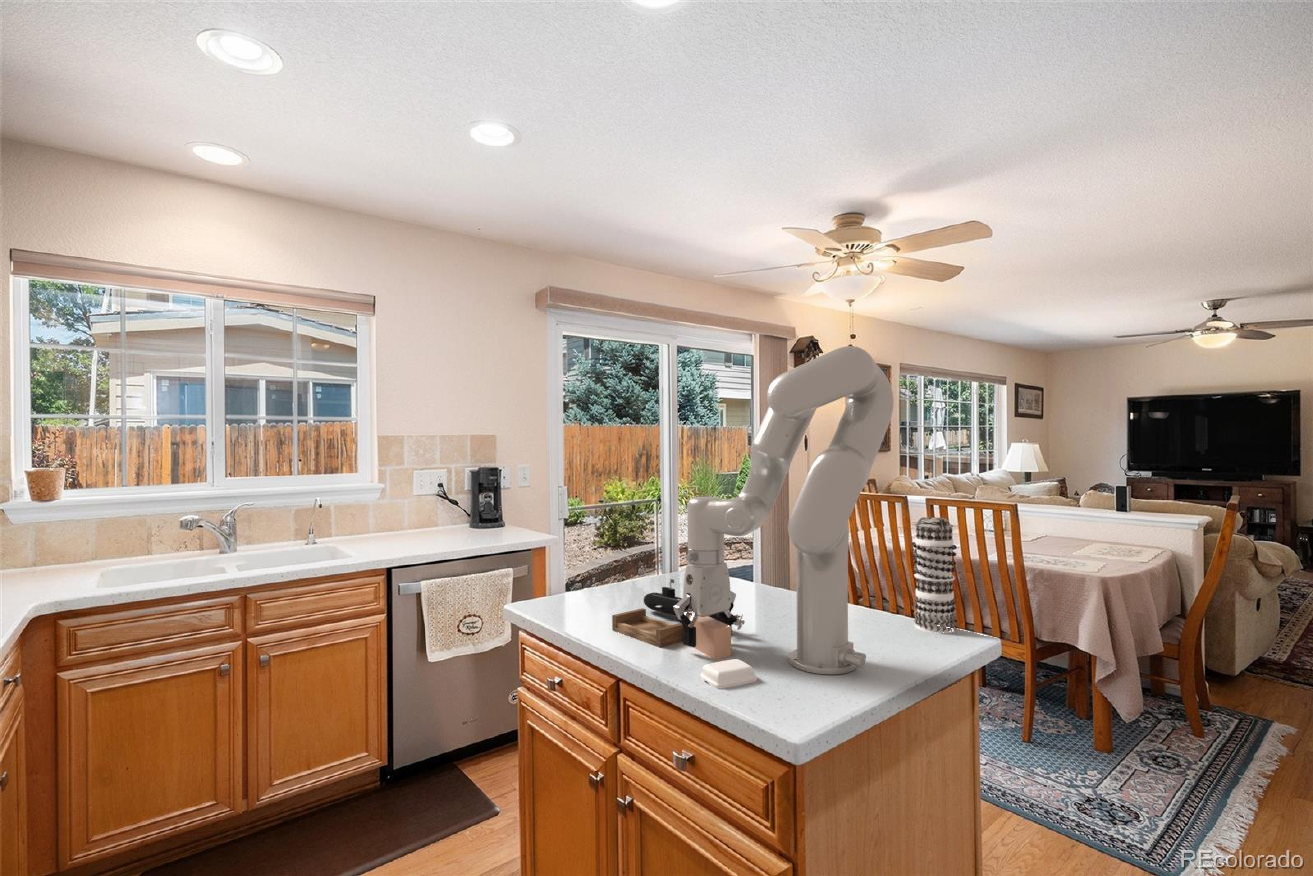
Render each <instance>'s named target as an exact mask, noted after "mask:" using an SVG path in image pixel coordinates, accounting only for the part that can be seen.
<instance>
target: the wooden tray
mask: <svg viewBox="0 0 1313 876" xmlns="http://www.w3.org/2000/svg"><path fill="white" fill-rule="evenodd" d="M611 618H612V621H611V622H612V623H611V625H612V628H611V629H612V630H613V632H615V633H618V632H619V633H618V634H620V633H621V634H622V635H623V634H624V636H627V637H629V636H630V637H629V638H632V639H634V638H635V640H637V641H640V642H643V641H644V643H646V644H649V645H652V646H655V647H657V646H658V648H663V647H666V646H670V645H673V644H676V643H680V642H683V625H681V624H680V622H678V623H674V624H673V623H669V622H666V621H663V620H660V619H657V618H654V617H649V616H647V609H646V608H643V607H642V608H638V609H634V610H629V611H626V612H620V613H616V614H613V615H612V616H611Z"/></svg>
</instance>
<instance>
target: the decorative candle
mask: <svg viewBox="0 0 1313 876" xmlns="http://www.w3.org/2000/svg"><path fill="white" fill-rule="evenodd" d="M913 525H914V526H915V538H914V541H913V542H911V545H912V547H913V548H914V549H913V551H912V552H911V553H912V555H913V556H914V557H913V558H912V561H913V563H914V567H913V568H912V569H913V570H914V573H913V576H914V578H915V579H916V582H915V583H916V588H915V596H914V597H913V598H914V601H915V602H916V603H914V605H913V606H914V608H915V610H914V612H913V615H914V616H915V618H914V620H913V621H914V623H915V625H914V628H917V629H916V630H919V631H921V632H924V633H929V632H936V633H937V632H938V633H943V632H944V633H948V634H952V629H951V628H954V629H955V626H956V625H957V624H956V622H955V620H956V619H957V616H956V615H955V613H954V612H955V611H956V608H955V606H954V605H955V604H956V600H955V599H954V598H955V594H954V593H955V591H954V587H953V586H954V583H953V582H954V581H955V580H956V577H955V576H954V575H953V573H955V572H956V571H957V569H956V568H954V567H955V565H956V564H957V561H955V560H954V559H953V558H954V557H956V556H957V553H956V551H955V550H956V549H958V547H957V545H955V544H954V538H953V527H954V525H952V524H951V522H950V521H949V520H948V519H947V518H944V517H935V516H934V517H933V516H932V517H930V516H929V517H928V516H927V517H925V516H924V517H921V518H919V519H918V521H917V523H914V524H913ZM937 625H940V626H937ZM946 627H950V628H946ZM949 631H951V632H949ZM955 632H956V630H955V631H953V633H955ZM936 633H935V634H936Z"/></svg>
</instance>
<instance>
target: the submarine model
mask: <svg viewBox="0 0 1313 876" xmlns="http://www.w3.org/2000/svg"><path fill="white" fill-rule="evenodd" d="M668 584H669V587H667V586H662V587H661V592H649V593H647V594H646V595H644V597H643V605H645V606H646V607H647V608H648V609H650V610H652V611H654V612H660V613H663V614H667V615H671V616H674V617H675V616H676V617H677V615H676V614H675V611H674V606H675V605H676V604H677V603H678V602H679V601H680V600H681V599H682V598H683V597H679V596H676V589H675V588H673V587H672V584H675V579H672V578H670V579H669V582H668ZM684 613H685V611H684ZM716 615H718V613H717V614H714V615H710V616H709V617H711V618H713V619H716ZM743 616H744V614H741V615H739V614H735V615H734V614H733V613H731V616H730V617H728V618H729V626H731V637H732V636H733V628H732V627H733V626H732V625H734V626H736V627H737V629H736V630H737V631H739V630H741V629H742V627H743V625H745V623H746V622H745V619H744V620H743Z"/></svg>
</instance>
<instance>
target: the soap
mask: <svg viewBox="0 0 1313 876" xmlns="http://www.w3.org/2000/svg"><path fill="white" fill-rule="evenodd" d="M755 673H756V671H755V669H754V667H753V666H751V665H749V664H748V663H746V662H745V661H742V660H741V659H738V658H734V659H726V660H721V661H717V662H711V663H707V664H704V665H703V666H702V667H701V673H700V674H699V679H701V680H702V681H703V682H704V683H705V682H707V683H708V685H709V686H711V687H712V688H714V689H717V690H719V689H726V688H733V687H737V686H738V687H739V686H742V685H747V684H750V683H755V682H757V681H758V677H757V676H756V674H755Z"/></svg>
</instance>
